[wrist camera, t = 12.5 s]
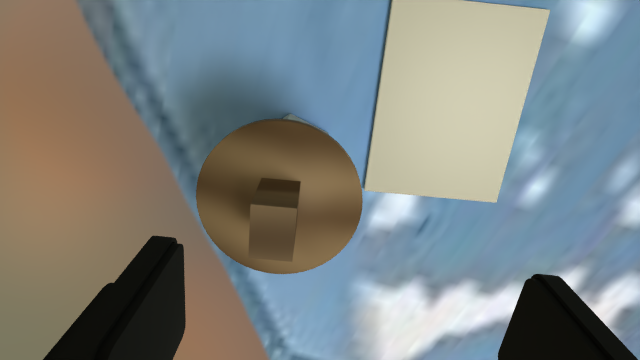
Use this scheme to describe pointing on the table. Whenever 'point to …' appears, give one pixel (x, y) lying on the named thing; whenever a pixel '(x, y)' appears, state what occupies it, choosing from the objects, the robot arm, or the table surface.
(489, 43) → the placemat
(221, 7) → the table surface
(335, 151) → the lid
